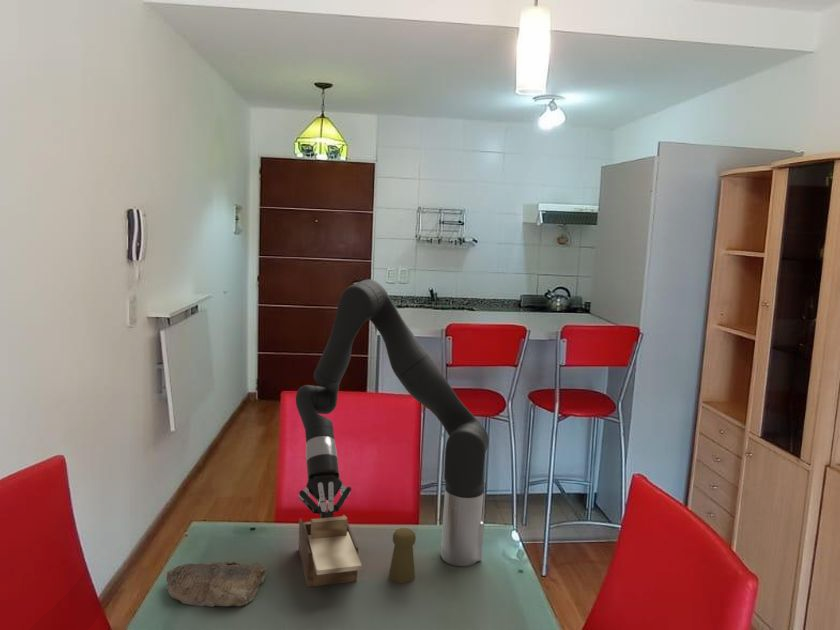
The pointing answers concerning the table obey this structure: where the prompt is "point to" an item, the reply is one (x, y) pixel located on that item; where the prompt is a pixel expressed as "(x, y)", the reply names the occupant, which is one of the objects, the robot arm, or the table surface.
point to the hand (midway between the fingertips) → (328, 529)
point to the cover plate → (332, 546)
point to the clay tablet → (215, 583)
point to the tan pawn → (403, 556)
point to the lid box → (308, 563)
